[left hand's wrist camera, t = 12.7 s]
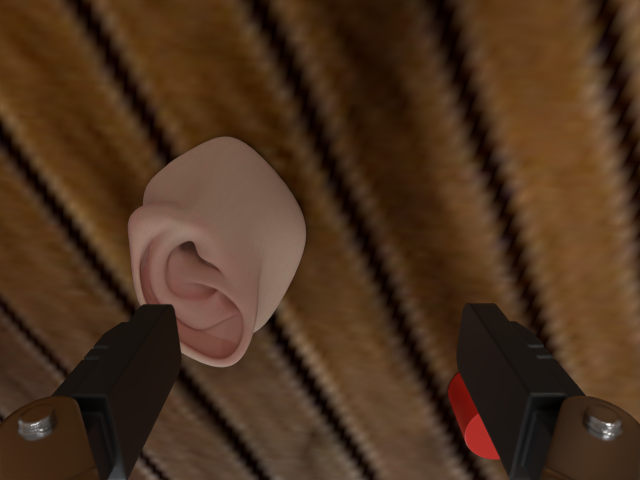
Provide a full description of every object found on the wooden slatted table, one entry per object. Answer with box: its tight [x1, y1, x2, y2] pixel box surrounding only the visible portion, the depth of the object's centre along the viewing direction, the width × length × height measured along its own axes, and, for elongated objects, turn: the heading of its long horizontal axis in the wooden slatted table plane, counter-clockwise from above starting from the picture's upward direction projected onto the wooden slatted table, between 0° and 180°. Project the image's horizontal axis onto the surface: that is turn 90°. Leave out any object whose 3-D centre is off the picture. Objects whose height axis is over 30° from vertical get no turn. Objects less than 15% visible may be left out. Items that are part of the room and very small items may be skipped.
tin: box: [448, 373, 500, 459], centre depth 30 cm, size 5×5×4 cm
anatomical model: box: [128, 137, 306, 367], centre depth 25 cm, size 13×4×12 cm
